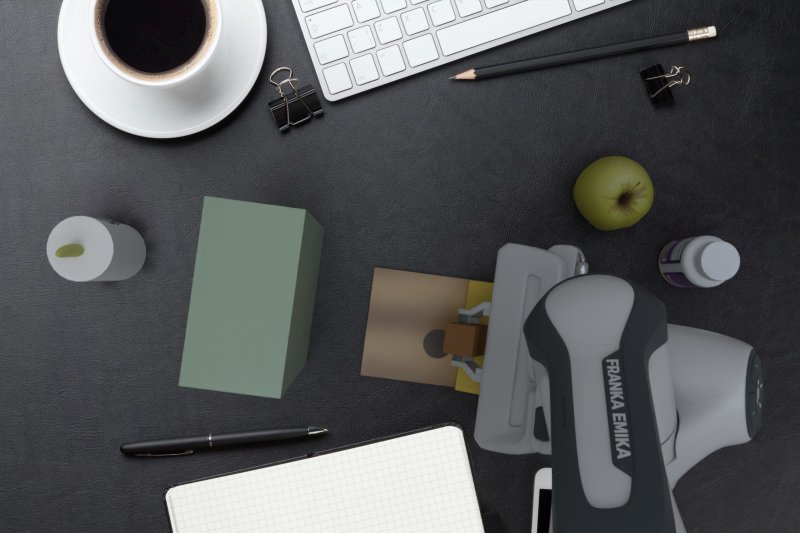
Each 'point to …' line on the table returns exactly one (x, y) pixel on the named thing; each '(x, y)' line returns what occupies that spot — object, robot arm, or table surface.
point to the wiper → (469, 336)
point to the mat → (411, 326)
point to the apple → (613, 193)
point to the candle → (95, 249)
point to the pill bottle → (698, 261)
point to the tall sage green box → (251, 297)
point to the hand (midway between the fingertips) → (458, 336)
